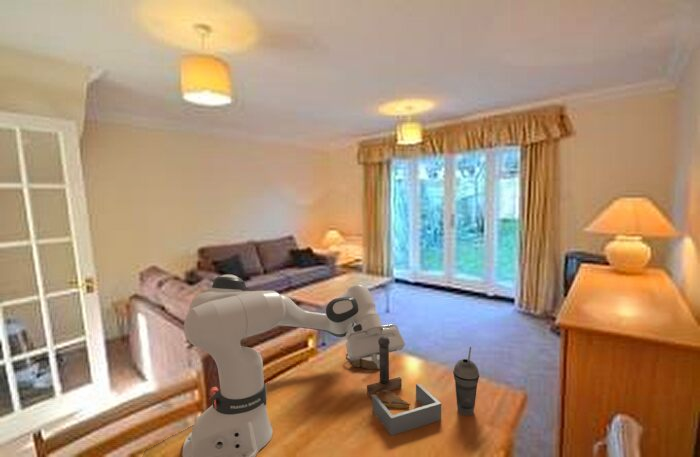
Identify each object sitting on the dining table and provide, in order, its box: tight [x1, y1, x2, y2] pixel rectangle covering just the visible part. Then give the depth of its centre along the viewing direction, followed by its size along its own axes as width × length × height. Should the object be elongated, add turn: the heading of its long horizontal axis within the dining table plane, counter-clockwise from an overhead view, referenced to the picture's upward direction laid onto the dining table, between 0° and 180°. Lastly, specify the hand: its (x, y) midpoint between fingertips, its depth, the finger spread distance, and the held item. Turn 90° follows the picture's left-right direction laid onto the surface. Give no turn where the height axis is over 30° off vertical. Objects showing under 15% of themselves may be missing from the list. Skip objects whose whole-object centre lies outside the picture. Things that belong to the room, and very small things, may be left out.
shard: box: [370, 390, 411, 409], centre depth 110 cm, size 11×8×2 cm
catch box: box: [371, 383, 442, 436], centre depth 104 cm, size 16×12×5 cm
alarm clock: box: [345, 353, 380, 370], centre depth 136 cm, size 11×5×15 cm
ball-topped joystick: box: [366, 336, 402, 397], centre depth 115 cm, size 12×4×18 cm, turn 112°
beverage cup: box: [452, 346, 480, 417], centre depth 104 cm, size 7×7×20 cm
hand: (383, 367), depth 118 cm, fingers closed
